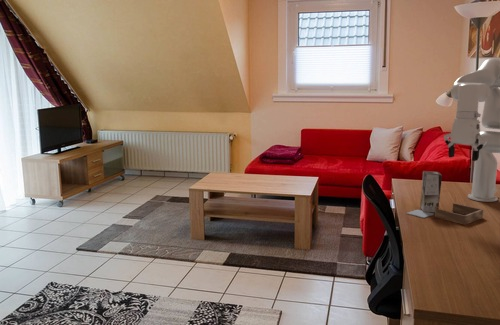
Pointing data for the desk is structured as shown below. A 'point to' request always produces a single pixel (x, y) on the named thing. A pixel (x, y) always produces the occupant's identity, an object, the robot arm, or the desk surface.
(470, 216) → the bay walnut
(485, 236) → the desk surface
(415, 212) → the mat grey
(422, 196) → the coffee box
